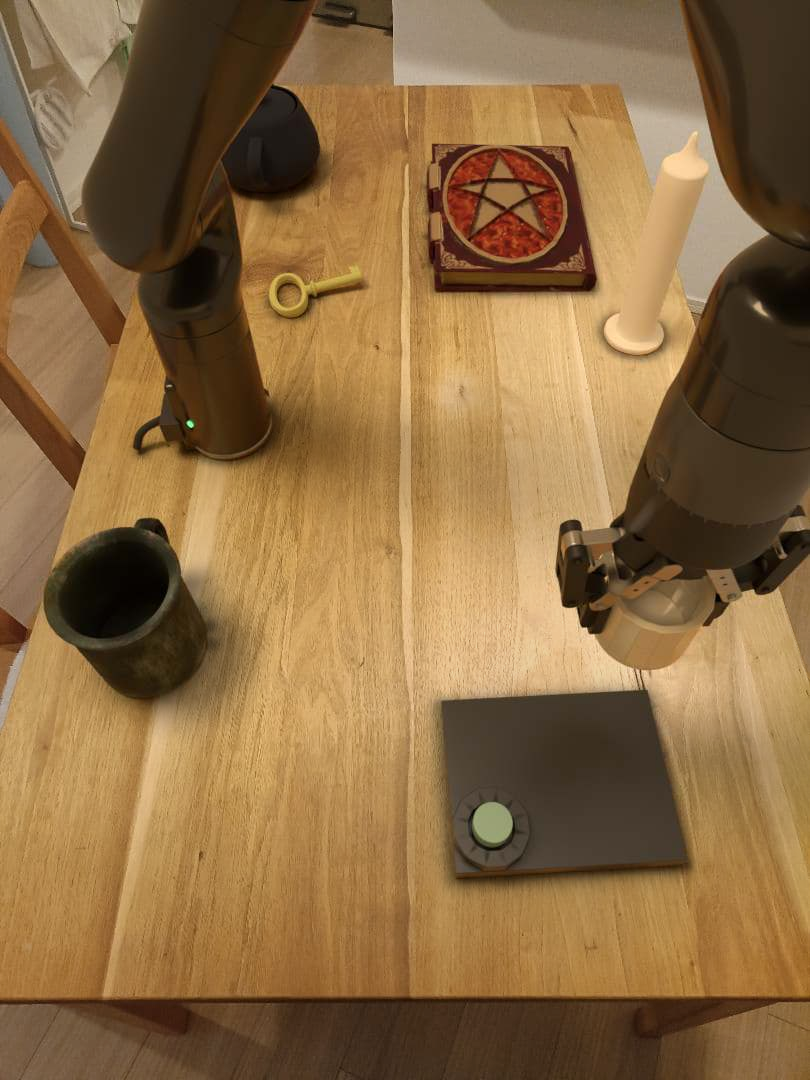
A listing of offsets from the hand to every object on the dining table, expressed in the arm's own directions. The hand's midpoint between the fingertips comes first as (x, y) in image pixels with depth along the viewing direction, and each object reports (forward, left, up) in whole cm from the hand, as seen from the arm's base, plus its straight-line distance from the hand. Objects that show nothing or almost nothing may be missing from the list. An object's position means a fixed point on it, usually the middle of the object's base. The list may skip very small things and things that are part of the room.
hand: (644, 617), depth 50 cm
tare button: (-10, -9, -17) cm, 21 cm away
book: (+1, +71, -20) cm, 74 cm away
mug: (-39, +11, -20) cm, 45 cm away
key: (-25, +58, -20) cm, 66 cm away
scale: (-4, -5, -20) cm, 21 cm away
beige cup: (0, 0, -1) cm, 1 cm away
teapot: (-32, +86, -20) cm, 94 cm away
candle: (+14, +48, -20) cm, 54 cm away
